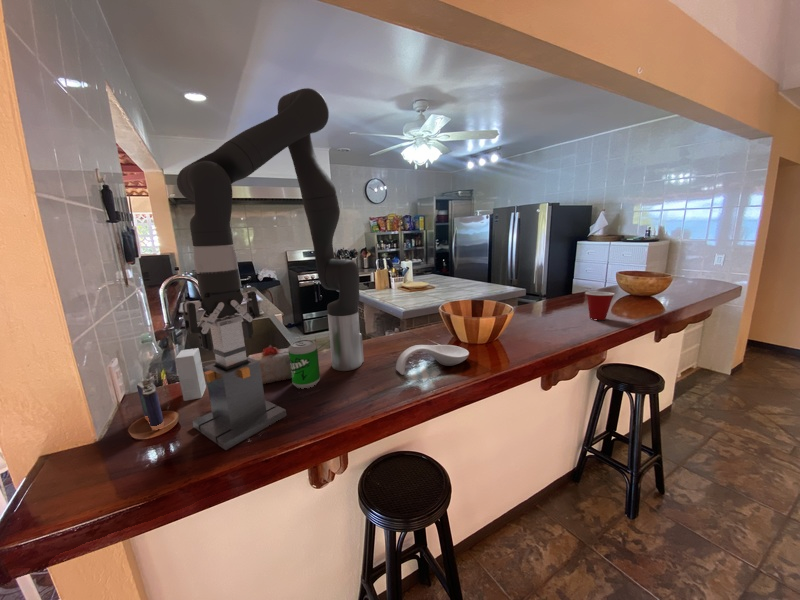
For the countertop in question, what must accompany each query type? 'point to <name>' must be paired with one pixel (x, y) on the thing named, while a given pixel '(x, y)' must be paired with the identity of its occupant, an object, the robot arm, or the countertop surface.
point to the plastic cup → (599, 304)
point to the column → (228, 342)
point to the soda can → (304, 363)
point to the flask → (150, 402)
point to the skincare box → (190, 374)
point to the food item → (273, 364)
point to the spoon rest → (434, 355)
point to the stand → (236, 405)
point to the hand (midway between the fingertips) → (228, 343)
